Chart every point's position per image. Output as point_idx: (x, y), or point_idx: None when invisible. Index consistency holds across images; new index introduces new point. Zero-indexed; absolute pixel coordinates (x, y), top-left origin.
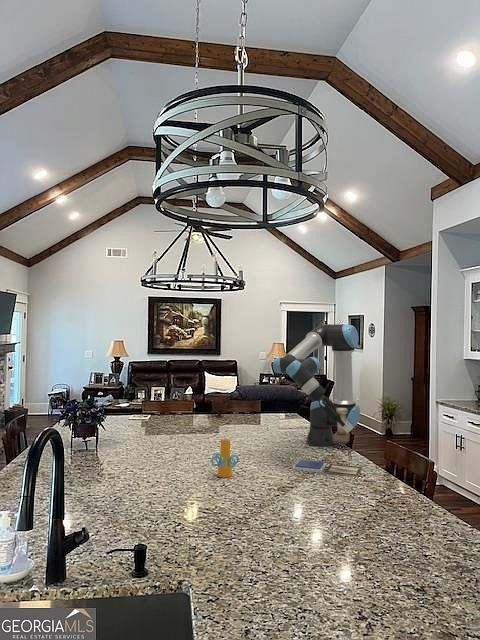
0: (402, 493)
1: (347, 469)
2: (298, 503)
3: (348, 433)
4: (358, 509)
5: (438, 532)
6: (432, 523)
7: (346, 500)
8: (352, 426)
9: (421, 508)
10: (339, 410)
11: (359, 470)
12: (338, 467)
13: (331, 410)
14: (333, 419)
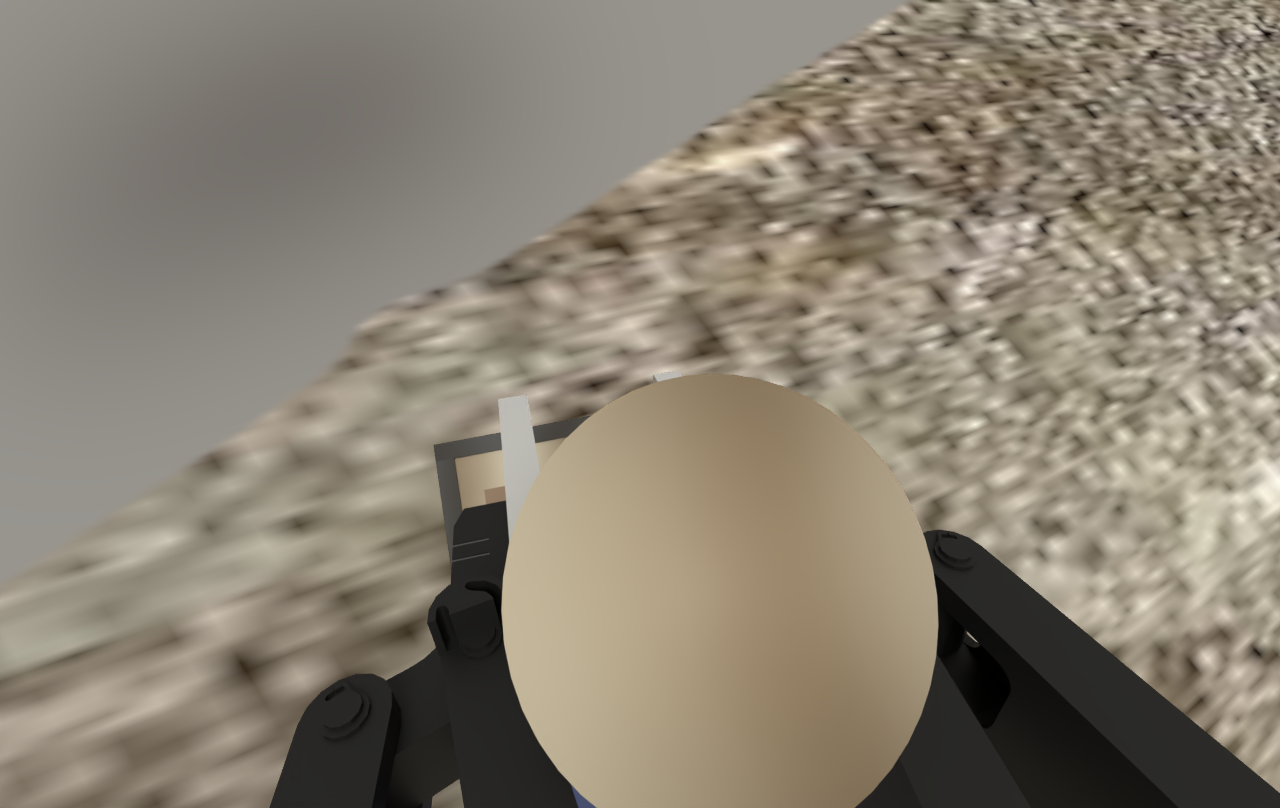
0: (801, 145)
1: None
2: (1258, 499)
3: (497, 500)
4: (1121, 258)
5: (1104, 11)
6: (1049, 27)
7: (1068, 331)
8: (512, 409)
9: (936, 64)
10: (908, 595)
11: (541, 429)
12: None
13: (1250, 781)
14: (966, 649)
